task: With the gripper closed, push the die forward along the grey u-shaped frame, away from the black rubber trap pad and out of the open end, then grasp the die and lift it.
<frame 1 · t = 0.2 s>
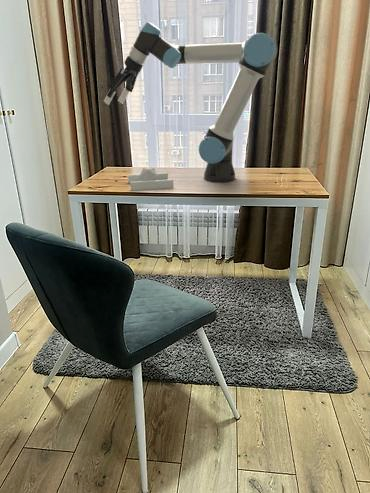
hand: (113, 102, 182), 35 cm above the table, tool tilted 35°, fingers open, 13 cm apart
grey u-shaped frame: (150, 184, 185), on the table
die: (149, 185, 185), resting in grey u-shaped frame
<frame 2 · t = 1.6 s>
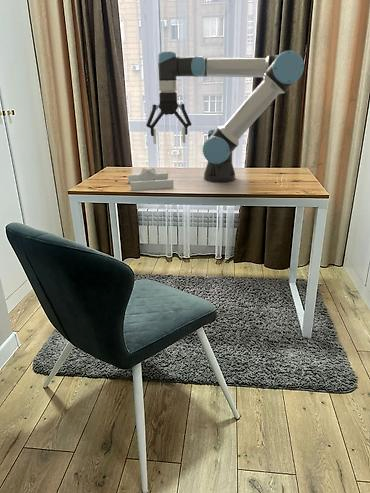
hand: (169, 143, 179), 19 cm above the table, tool pointing down, fingers open, 12 cm apart
nothing on the table moved.
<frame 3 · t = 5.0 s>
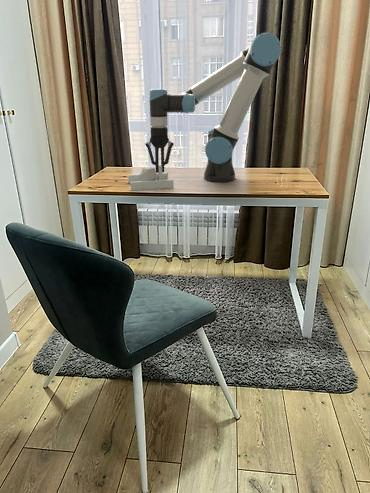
hand: (160, 179, 185), 2 cm above the table, tool pointing down, fingers closed
die: (149, 185, 185), resting in grey u-shaped frame, touching gripper
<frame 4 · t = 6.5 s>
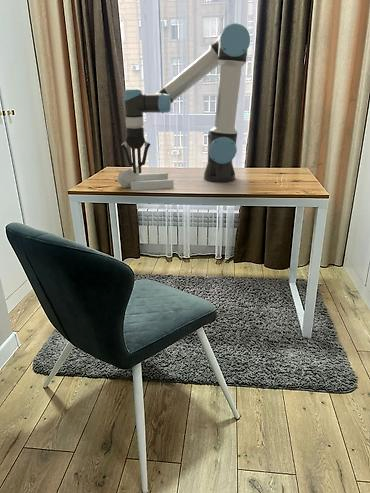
hand: (137, 180, 183), 2 cm above the table, tool pointing down, fingers closed
die: (128, 187, 181), on the table, touching gripper
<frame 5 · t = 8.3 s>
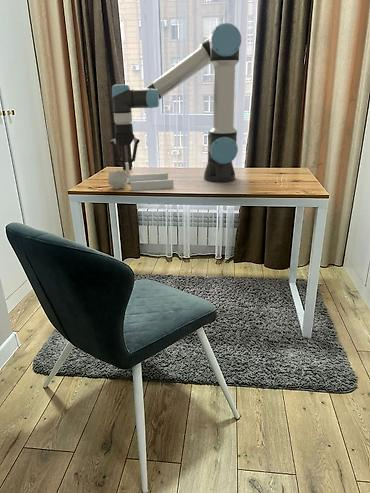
hand: (128, 177, 181), 4 cm above the table, tool pointing down, fingers closed
die: (120, 187, 180), on the table, touching gripper
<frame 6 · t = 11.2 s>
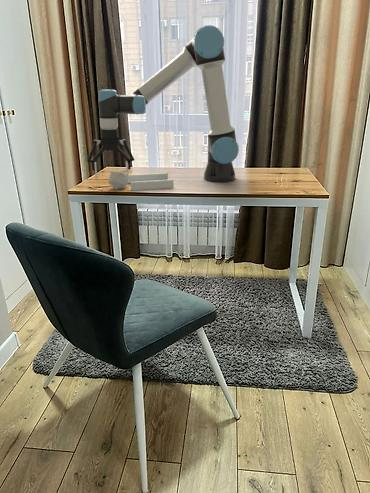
hand: (112, 177, 180), 4 cm above the table, tool pointing down, fingers open, 13 cm apart
die: (119, 188, 180), on the table
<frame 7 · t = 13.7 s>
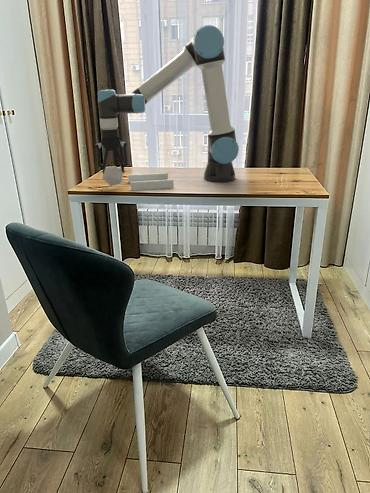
hand: (114, 181, 180), 3 cm above the table, tool pointing down, fingers closed on die, 6 cm apart
die: (113, 184, 177), point 2 cm above the table, touching gripper
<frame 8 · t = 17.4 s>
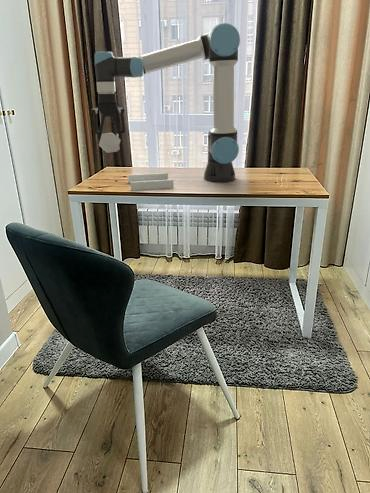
hand: (111, 149, 175), 17 cm above the table, tool pointing down, fingers closed on die, 6 cm apart
die: (110, 152, 172), point 16 cm above the table, touching gripper
at the end: die inside the target area (3.6 cm from its centre), point 16.2 cm above the table; the gripper is holding die; die touching gripper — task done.
